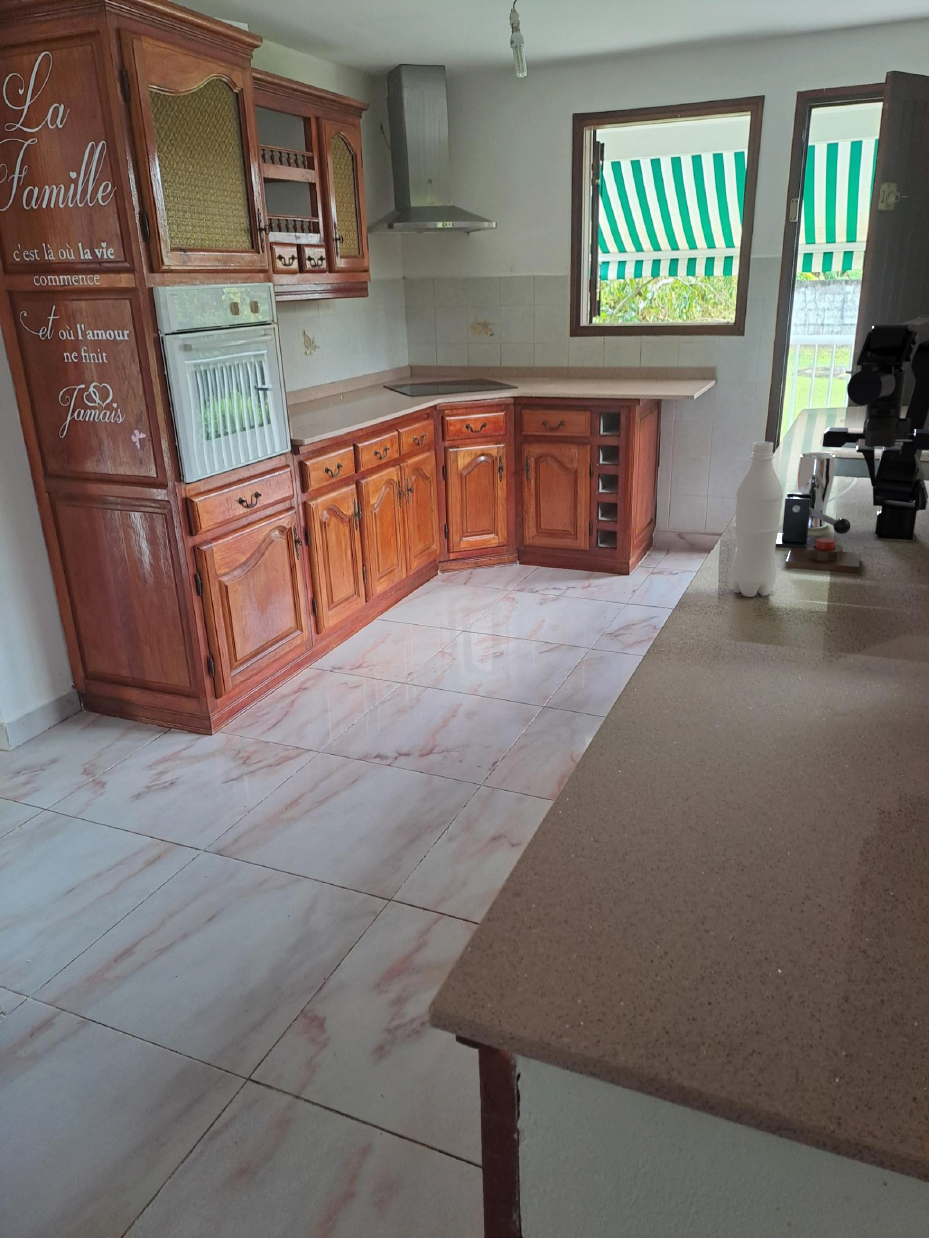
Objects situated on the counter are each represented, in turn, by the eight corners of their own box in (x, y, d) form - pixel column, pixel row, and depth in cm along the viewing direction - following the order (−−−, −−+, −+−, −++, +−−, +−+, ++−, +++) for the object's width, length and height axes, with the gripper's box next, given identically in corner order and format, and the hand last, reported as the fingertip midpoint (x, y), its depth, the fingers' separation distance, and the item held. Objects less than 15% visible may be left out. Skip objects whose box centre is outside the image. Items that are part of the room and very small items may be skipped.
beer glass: (823, 522, 187) (830, 451, 182) (832, 530, 181) (840, 458, 176) (789, 522, 188) (795, 452, 183) (797, 531, 182) (804, 458, 176)
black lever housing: (825, 541, 174) (830, 492, 170) (822, 552, 167) (828, 502, 164) (767, 537, 178) (771, 490, 175) (762, 548, 171) (766, 499, 168)
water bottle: (776, 600, 144) (790, 447, 135) (731, 598, 145) (741, 447, 137) (771, 586, 150) (784, 439, 142) (728, 585, 152) (737, 439, 143)
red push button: (834, 547, 159) (835, 538, 159) (833, 552, 157) (834, 542, 156) (815, 546, 161) (816, 537, 160) (814, 551, 158) (815, 541, 157)
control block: (859, 561, 161) (861, 543, 160) (858, 576, 153) (860, 556, 152) (790, 556, 166) (791, 538, 165) (785, 570, 158) (787, 551, 157)
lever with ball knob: (845, 534, 169) (853, 521, 168) (844, 538, 167) (853, 524, 165) (787, 506, 172) (795, 493, 171) (786, 510, 170) (794, 496, 168)
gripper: (825, 404, 152) (816, 493, 157) (947, 405, 144) (933, 498, 150) (828, 396, 161) (820, 480, 167) (943, 396, 154) (930, 484, 159)
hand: (874, 486), depth 160 cm, fingers closed
